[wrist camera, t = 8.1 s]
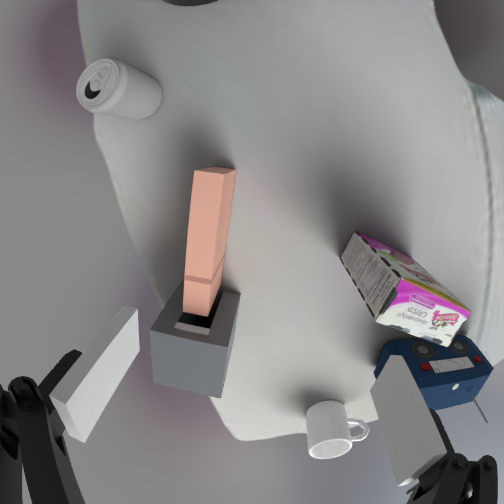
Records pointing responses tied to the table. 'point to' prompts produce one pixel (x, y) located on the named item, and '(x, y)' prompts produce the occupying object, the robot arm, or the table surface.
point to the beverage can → (118, 90)
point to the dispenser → (193, 346)
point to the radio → (442, 369)
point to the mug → (330, 430)
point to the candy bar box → (402, 291)
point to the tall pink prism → (207, 237)
